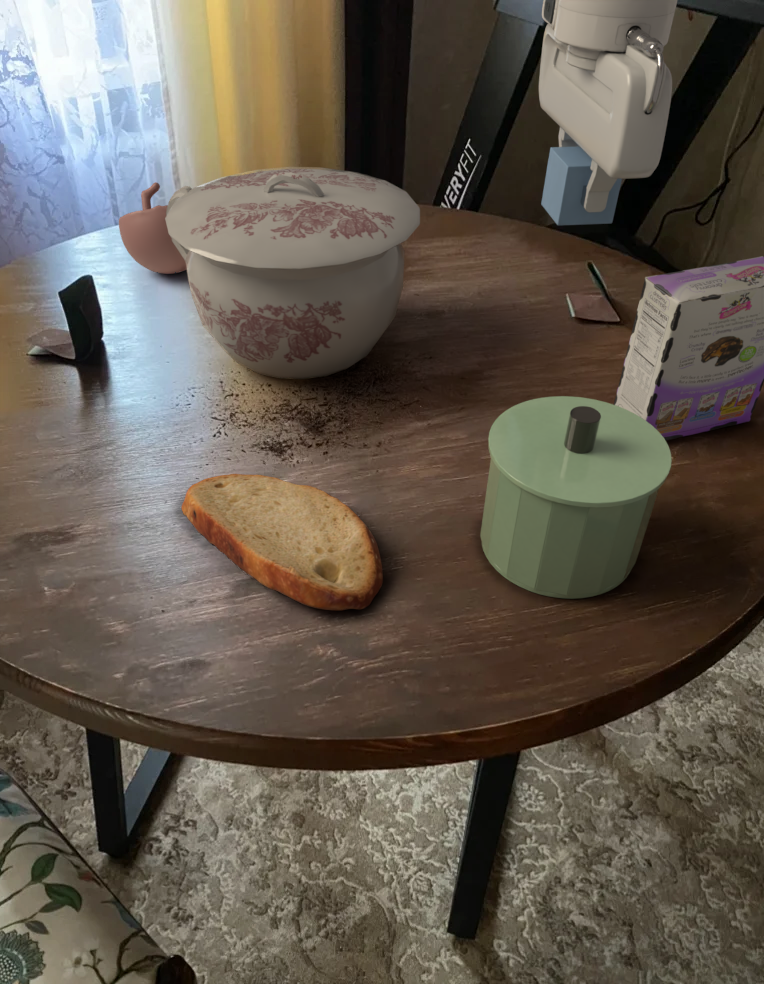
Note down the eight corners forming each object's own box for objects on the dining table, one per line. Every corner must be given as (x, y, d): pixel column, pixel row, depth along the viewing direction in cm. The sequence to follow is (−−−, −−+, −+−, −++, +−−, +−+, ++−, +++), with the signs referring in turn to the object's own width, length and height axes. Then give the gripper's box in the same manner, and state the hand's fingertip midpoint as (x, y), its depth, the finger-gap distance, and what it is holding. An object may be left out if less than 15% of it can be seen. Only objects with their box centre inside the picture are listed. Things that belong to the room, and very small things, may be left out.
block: (593, 202, 77) (605, 145, 74) (612, 223, 74) (625, 164, 70) (540, 204, 77) (550, 147, 74) (557, 225, 73) (567, 166, 70)
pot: (602, 490, 81) (626, 398, 74) (658, 590, 71) (692, 495, 64) (465, 502, 80) (476, 410, 73) (503, 606, 70) (520, 511, 63)
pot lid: (628, 400, 75) (638, 360, 72) (699, 505, 64) (714, 462, 62) (468, 413, 74) (473, 372, 71) (514, 521, 63) (521, 479, 60)
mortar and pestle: (200, 246, 124) (190, 165, 116) (225, 279, 115) (216, 195, 108) (119, 260, 120) (103, 178, 112) (139, 295, 112) (123, 209, 104)
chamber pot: (451, 384, 95) (468, 201, 81) (215, 433, 88) (189, 241, 74) (364, 281, 115) (366, 119, 101) (165, 314, 108) (137, 145, 94)
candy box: (716, 395, 94) (764, 253, 82) (750, 424, 89) (806, 278, 78) (607, 418, 90) (643, 272, 79) (638, 448, 86) (679, 300, 75)
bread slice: (184, 488, 82) (178, 457, 79) (368, 479, 83) (368, 449, 80) (168, 627, 68) (161, 595, 66) (387, 614, 69) (388, 583, 67)
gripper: (711, 45, 58) (660, 241, 67) (608, -11, 73) (577, 156, 82) (623, 47, 57) (583, 245, 66) (537, -10, 72) (514, 158, 81)
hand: (579, 195), depth 74 cm, fingers closed on block, 5 cm apart
